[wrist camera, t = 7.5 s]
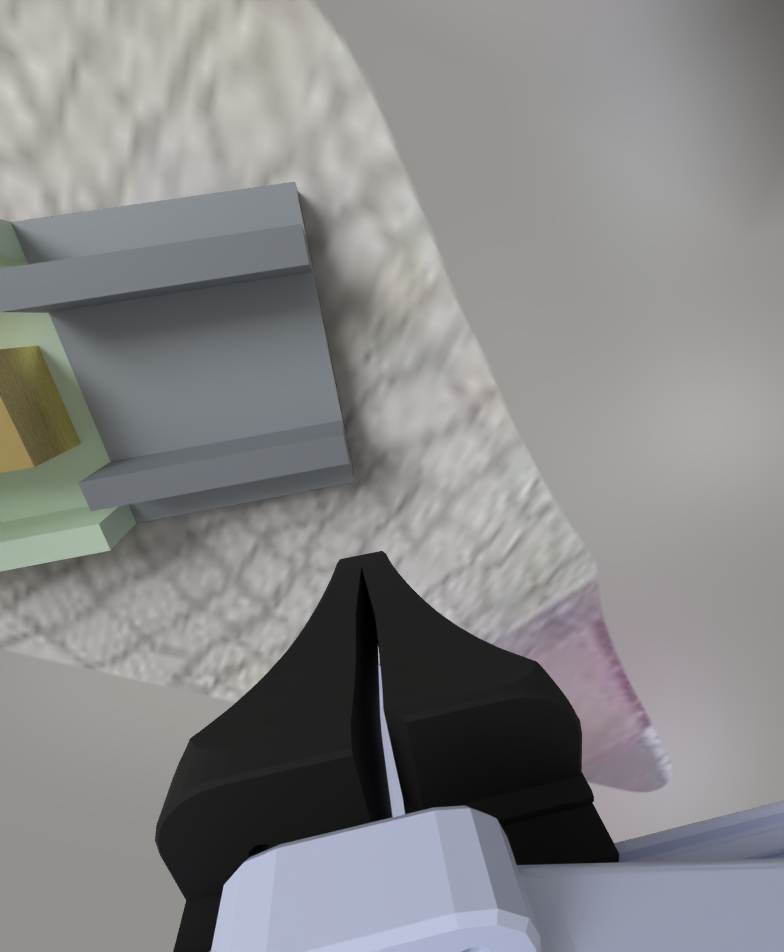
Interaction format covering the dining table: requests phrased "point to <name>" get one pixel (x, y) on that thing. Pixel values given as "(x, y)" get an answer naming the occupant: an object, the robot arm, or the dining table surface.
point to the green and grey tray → (168, 365)
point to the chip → (30, 412)
